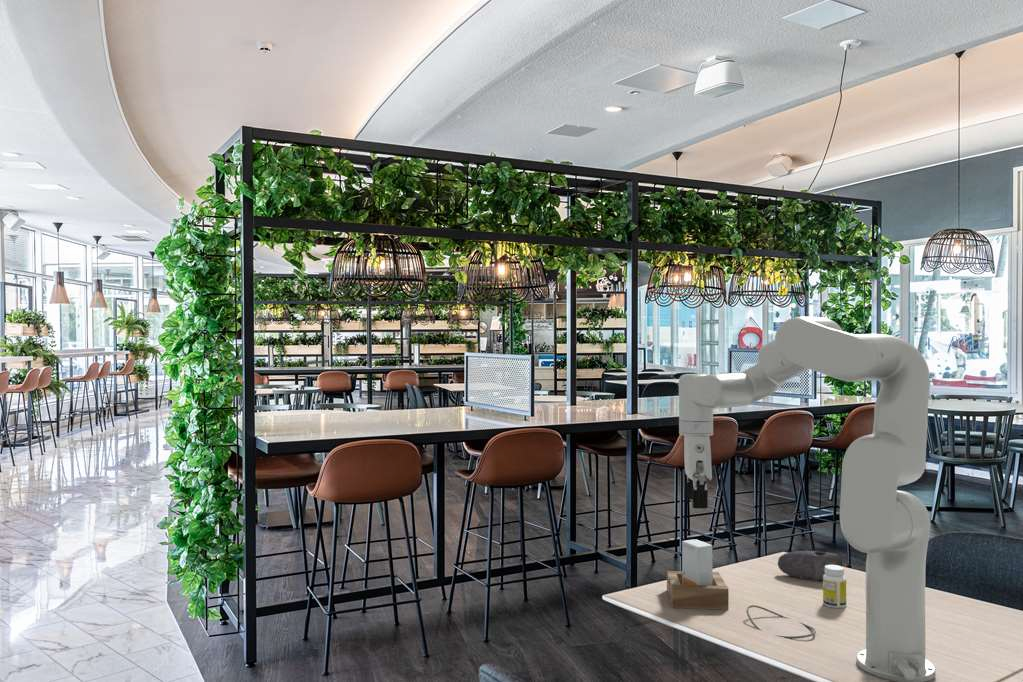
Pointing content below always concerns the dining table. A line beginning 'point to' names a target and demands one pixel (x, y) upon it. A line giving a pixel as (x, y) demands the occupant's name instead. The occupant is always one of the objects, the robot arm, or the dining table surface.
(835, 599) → the supplement bottle
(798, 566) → the perforated stone tool
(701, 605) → the holder
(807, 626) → the loop
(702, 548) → the skincare box
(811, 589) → the dining table surface
